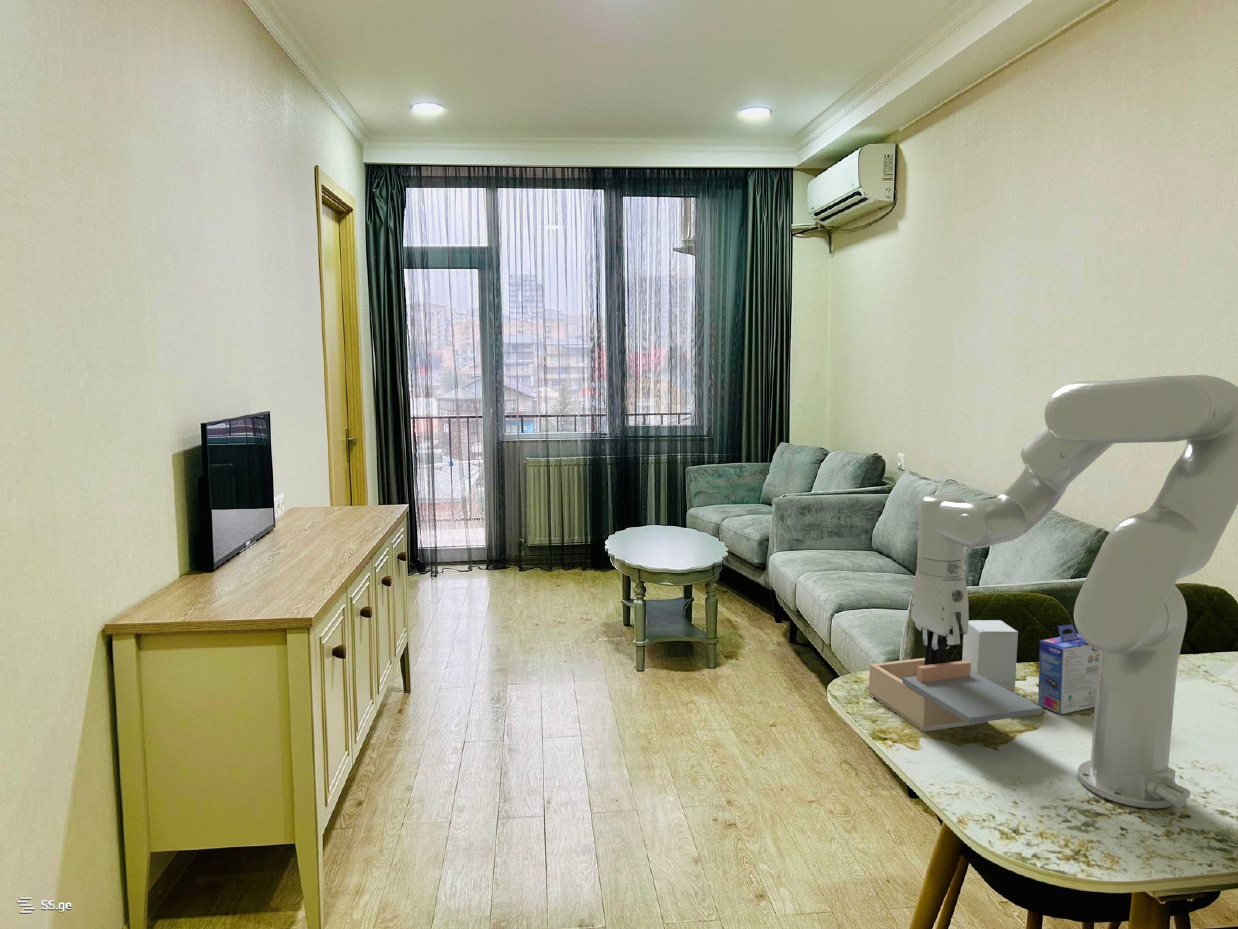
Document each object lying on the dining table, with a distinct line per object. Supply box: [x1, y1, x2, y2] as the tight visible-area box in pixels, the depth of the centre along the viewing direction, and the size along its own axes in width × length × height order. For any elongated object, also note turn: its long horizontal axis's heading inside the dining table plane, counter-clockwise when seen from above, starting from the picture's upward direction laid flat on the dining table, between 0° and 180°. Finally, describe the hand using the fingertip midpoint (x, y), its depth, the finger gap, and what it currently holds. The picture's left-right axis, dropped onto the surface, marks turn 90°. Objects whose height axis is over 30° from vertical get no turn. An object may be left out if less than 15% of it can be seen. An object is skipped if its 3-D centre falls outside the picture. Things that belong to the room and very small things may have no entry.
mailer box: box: [868, 657, 988, 732], centre depth 147 cm, size 16×13×6 cm
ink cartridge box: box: [1037, 624, 1100, 715], centre depth 148 cm, size 10×6×14 cm, turn 112°
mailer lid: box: [902, 660, 1043, 725], centre depth 137 cm, size 17×14×3 cm
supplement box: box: [961, 619, 1019, 694], centre depth 155 cm, size 7×7×13 cm
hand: (935, 668), depth 145 cm, fingers closed
